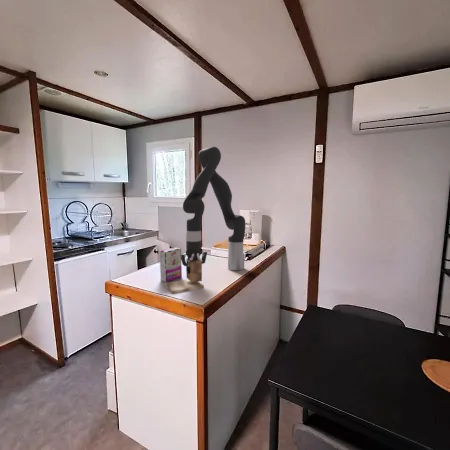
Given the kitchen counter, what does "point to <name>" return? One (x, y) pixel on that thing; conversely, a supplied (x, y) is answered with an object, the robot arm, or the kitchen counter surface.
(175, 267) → the candy bar box
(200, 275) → the walnut block
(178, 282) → the birch board
